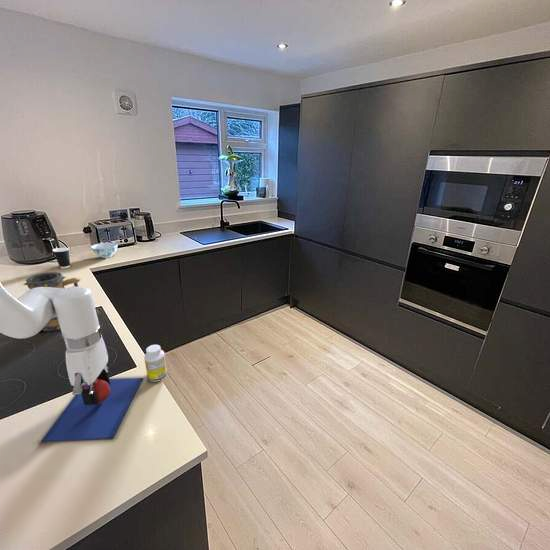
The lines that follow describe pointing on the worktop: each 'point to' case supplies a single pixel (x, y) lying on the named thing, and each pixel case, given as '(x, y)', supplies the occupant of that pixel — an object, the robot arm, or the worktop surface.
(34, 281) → the mug
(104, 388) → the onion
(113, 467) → the worktop surface
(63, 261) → the dixie cup
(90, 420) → the cloth
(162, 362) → the supplement bottle
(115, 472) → the worktop surface
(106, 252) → the chinaware
